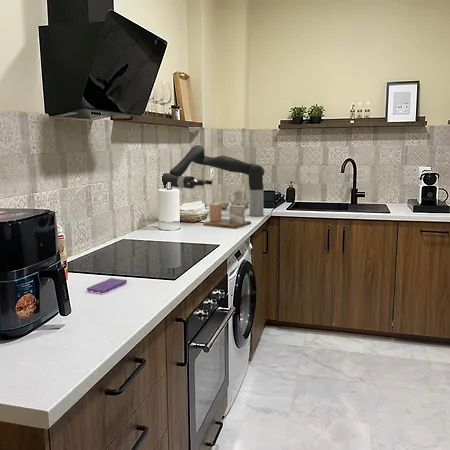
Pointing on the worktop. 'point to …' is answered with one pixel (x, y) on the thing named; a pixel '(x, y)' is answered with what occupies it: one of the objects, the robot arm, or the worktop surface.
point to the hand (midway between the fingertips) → (207, 183)
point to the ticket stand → (231, 219)
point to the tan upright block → (215, 212)
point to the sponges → (107, 285)
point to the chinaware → (236, 200)
